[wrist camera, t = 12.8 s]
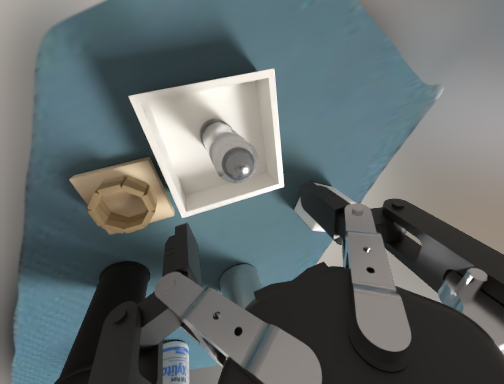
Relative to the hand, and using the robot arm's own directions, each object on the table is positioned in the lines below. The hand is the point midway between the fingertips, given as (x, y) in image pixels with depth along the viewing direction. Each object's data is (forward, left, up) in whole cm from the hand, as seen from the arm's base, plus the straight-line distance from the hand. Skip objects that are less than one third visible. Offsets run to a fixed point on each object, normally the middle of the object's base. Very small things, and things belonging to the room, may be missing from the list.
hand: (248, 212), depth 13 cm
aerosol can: (-21, +22, -20) cm, 37 cm away
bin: (0, -1, -20) cm, 20 cm away
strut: (+1, -1, -19) cm, 19 cm away
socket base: (-5, +14, -20) cm, 25 cm away
